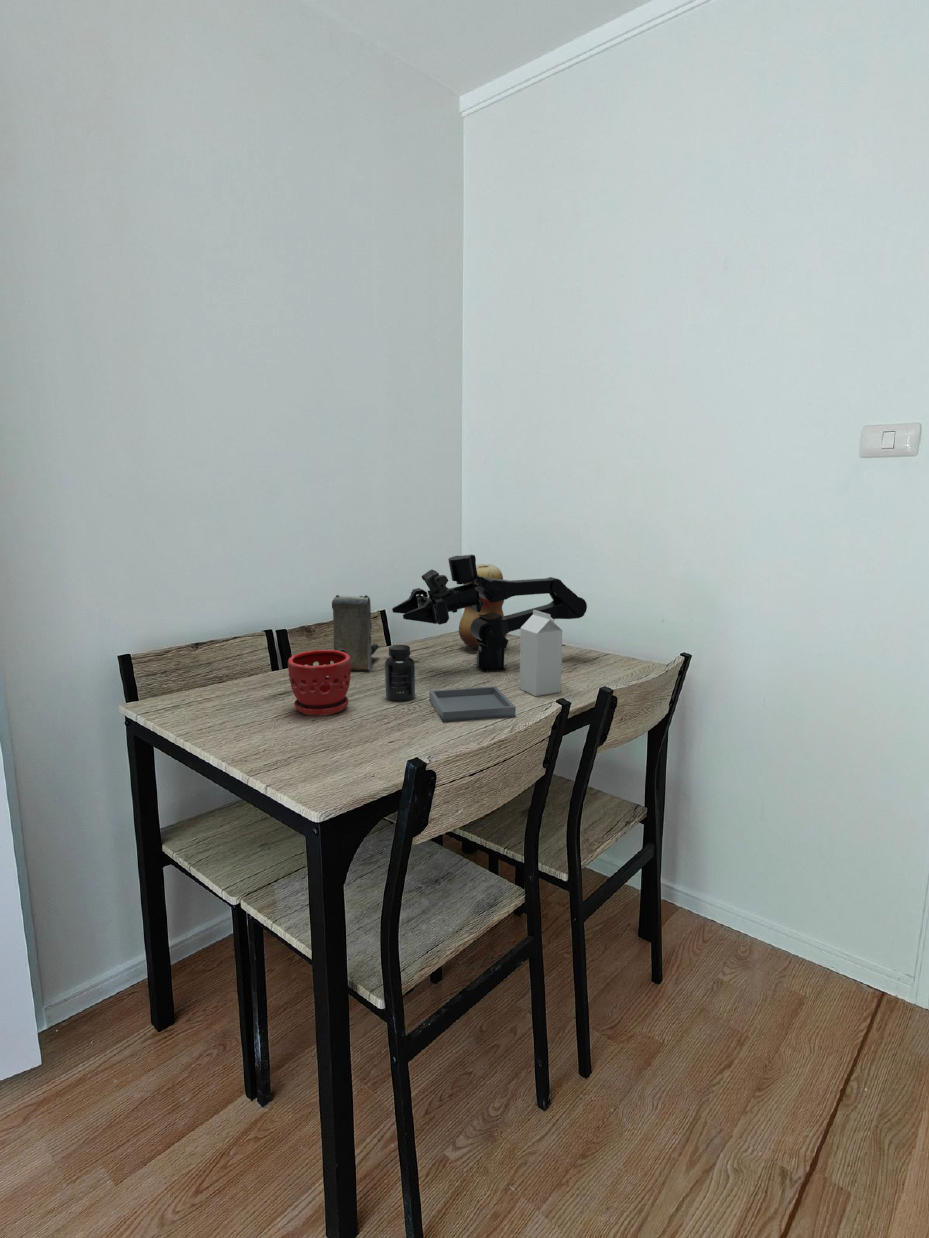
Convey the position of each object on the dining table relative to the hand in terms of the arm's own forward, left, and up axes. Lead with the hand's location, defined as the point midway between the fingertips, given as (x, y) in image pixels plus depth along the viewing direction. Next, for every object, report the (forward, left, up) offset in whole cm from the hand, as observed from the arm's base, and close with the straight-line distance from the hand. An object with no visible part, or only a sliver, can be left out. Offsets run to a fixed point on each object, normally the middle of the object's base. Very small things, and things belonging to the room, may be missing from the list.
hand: (397, 613), depth 178 cm
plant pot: (+20, +21, -17) cm, 33 cm away
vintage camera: (+9, -16, -17) cm, 25 cm away
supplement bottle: (+2, +16, -17) cm, 23 cm away
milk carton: (-31, +18, -17) cm, 40 cm away
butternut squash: (-28, -25, -17) cm, 41 cm away
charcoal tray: (-12, +27, -17) cm, 34 cm away
